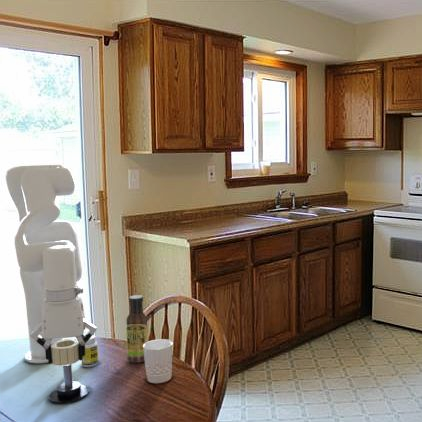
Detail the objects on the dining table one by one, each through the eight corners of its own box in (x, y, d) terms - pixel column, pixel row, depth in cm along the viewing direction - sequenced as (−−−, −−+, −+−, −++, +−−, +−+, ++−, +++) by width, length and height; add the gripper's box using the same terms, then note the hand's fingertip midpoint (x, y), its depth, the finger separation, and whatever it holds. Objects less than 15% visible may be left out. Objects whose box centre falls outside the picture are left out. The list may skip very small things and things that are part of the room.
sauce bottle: (125, 364, 160) (121, 300, 157) (129, 356, 166) (126, 294, 163) (147, 363, 160) (143, 299, 158) (150, 355, 166) (147, 293, 164)
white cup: (139, 379, 149) (137, 344, 148) (163, 370, 155) (161, 337, 154) (155, 387, 144) (153, 351, 143) (179, 377, 150) (177, 343, 148)
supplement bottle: (93, 367, 158) (91, 340, 157) (78, 367, 159) (76, 339, 158) (101, 361, 162) (99, 334, 161) (87, 360, 163) (85, 334, 162)
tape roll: (54, 356, 142) (53, 340, 142) (81, 353, 144) (80, 337, 143) (50, 366, 136) (48, 350, 135) (78, 363, 137) (77, 347, 137)
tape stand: (52, 389, 144) (50, 359, 143) (91, 384, 147) (89, 355, 146) (45, 406, 135) (42, 374, 134) (87, 400, 137) (84, 369, 136)
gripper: (98, 287, 143) (102, 351, 146) (28, 292, 139) (33, 358, 141) (95, 295, 136) (99, 362, 138) (21, 301, 132) (27, 369, 134)
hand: (66, 359), depth 140 cm, fingers closed on tape roll, 6 cm apart
